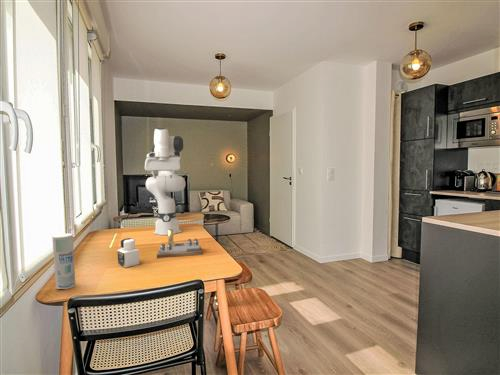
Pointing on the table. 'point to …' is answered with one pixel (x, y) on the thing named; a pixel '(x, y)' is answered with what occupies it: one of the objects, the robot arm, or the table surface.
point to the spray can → (64, 260)
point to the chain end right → (187, 245)
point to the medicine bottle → (128, 253)
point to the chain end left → (169, 249)
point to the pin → (170, 236)
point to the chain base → (179, 254)
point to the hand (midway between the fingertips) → (163, 178)
